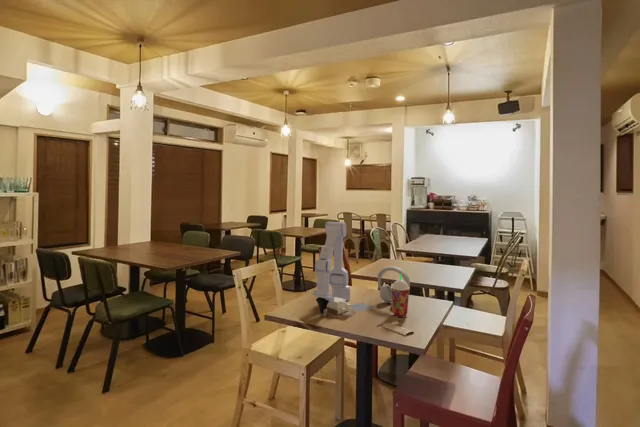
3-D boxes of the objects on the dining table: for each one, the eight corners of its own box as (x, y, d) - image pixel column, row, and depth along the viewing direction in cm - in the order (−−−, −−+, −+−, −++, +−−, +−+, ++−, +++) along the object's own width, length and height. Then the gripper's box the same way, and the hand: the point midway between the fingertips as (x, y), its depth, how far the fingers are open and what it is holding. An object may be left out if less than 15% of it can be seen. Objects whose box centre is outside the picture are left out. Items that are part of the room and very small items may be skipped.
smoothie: (409, 313, 187) (410, 273, 186) (407, 319, 180) (408, 277, 178) (392, 311, 190) (393, 271, 189) (389, 317, 182) (390, 275, 181)
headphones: (374, 302, 205) (374, 265, 204) (381, 299, 211) (382, 263, 210) (405, 309, 193) (405, 270, 192) (412, 305, 199) (413, 267, 198)
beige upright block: (327, 311, 187) (327, 299, 186) (335, 308, 191) (335, 296, 191) (346, 317, 178) (346, 304, 178) (354, 314, 183) (354, 301, 183)
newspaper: (365, 321, 178) (365, 317, 178) (376, 318, 183) (376, 314, 182) (405, 337, 160) (405, 333, 160) (416, 333, 164) (416, 329, 164)
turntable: (335, 304, 199) (335, 297, 199) (363, 312, 187) (363, 305, 186) (310, 313, 186) (310, 305, 185) (338, 322, 173) (338, 314, 173)
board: (357, 302, 205) (357, 300, 205) (382, 312, 188) (382, 310, 188) (308, 312, 190) (308, 309, 190) (330, 324, 173) (330, 322, 173)
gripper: (307, 282, 184) (307, 310, 185) (325, 289, 172) (325, 319, 173) (319, 280, 188) (319, 307, 189) (337, 287, 176) (337, 316, 177)
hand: (322, 313), depth 181 cm, fingers closed
